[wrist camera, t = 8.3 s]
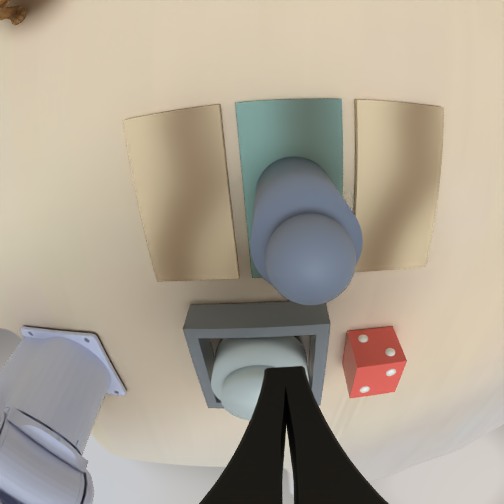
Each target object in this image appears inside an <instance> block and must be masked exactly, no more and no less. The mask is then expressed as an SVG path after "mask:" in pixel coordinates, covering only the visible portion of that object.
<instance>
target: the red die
mask: <svg viewBox="0 0 504 504" xmlns="http://www.w3.org/2000/svg"><path fill="white" fill-rule="evenodd" d="M406 362H407V360H406V358H405V355H404V353H403V350H402V348H401V345H400V343H399V340H398V338H397V336H396V333H395V331H394V329H393V326H391V327H382V328H373V329H364V330H354V331H347V338H346V344H345V350H344V356H343V362H342V364H343V369H344V373H345V378H346V383H347V388H348V392H349V397H350V398H356V397H363V396H370V395H377V394H383V393H389V392H395V390H396V387H397V385H398V382H399V380H400V377H401V375H402V372H403V370H404V367H405V364H406Z"/></svg>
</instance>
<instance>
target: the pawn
mask: <svg viewBox="0 0 504 504" xmlns="http://www.w3.org/2000/svg"><path fill="white" fill-rule="evenodd" d="M362 245H363V238H362V231H361V227H360V224H359V222H358V220H357V218H356V217H355V215H354V214H353V212H352V211H351V209H350V208H349V206H348V205H347V203H346V202H345V200H344V199H343V197H342V196H341V194H340V193H339V191H338V190H337V188H336V187H335V185H334V184H333V183H332V181H331V180H330V178H329V177H328V175H327V174H326V173H325V171H324V170H323V169H322V168H321V167H320V166H319V165H318V164H317V163H315V162H313V161H311V160H309V159H307V158H303V157H294V156H292V157H285V158H282V159H279V160H277V161H275V162H273V163H272V164H270V165H269V166H268V167H267V168H266V169H265V170H264V171H263V172H262V174H261V175H260V177H259V179H258V182H257V186H256V193H255V203H254V214H253V225H252V235H251V255H252V259H253V262H254V265H255V267H256V269H257V270H258V272H259V273H260V275H261V276H262V277H263V278H264V279H265V280H266V281H267V282H269V283H270V284H271V285H273V286H274V287H275V289H276V290H277V291H278V292H279V293H280V294H281V295H282V296H284V297H285V298H287V299H288V300H290V301H292V302H295V303H298V304H302V305H319V304H323V303H326V302H328V301H331V300H332V299H334V298H336V297H337V296H338V295H340V294H341V293H342V292H343V291H344V290H345V289H346V287H347V286H348V285H349V283H350V281H351V279H352V277H353V274H354V271H355V266H356V264H357V262H358V260H359V258H360V255H361V251H362Z"/></svg>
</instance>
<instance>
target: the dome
mask: <svg viewBox="0 0 504 504" xmlns="http://www.w3.org/2000/svg"><path fill="white" fill-rule="evenodd" d="M293 366H303V367H304V368H305V372H306V375H307V379H308V382H309V378H308V369H307V360H306V352H305V349H304V347H303V345H302V344H301V342H300V341H299V340H298V339H297V338H295V337H294V336H282V337H257V338H224V339H223V340H222V341H221V342H220V344H219V345H218V347H217V350H216V354H215V360H214V366H213V372H212V378H211V388H212V391H213V393H214V394H215V396H216V397H217V398H218V399H219V400H220V401H221V402H222V405H223V407H224V408H225V409H226V410H227V411H228V412H229V413H231V414H232V415H234V416H236V417H239V418H242V419H246V420H251V417H252V415H253V412H254V409H255V406H256V404H257V401H258V398H259V394H260V391H261V387H262V383H263V378H264V370H265V369H267V368H275V367H293Z"/></svg>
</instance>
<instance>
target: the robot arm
mask: <svg viewBox="0 0 504 504" xmlns="http://www.w3.org/2000/svg"><path fill="white" fill-rule="evenodd" d="M21 333H22V335H23V336H24V338H23V339H22V340H21V342H20V343H19V345H18V346H17V348H16V349H15V350H14V352H13V353H12V355H11V356H10V358H9V359H8V361H7V362H6V364H5V365H4V367H3V368H2V370H1V371H0V504H92V502H93V497H94V487H93V482H92V478H91V475H90V473H89V472H88V471H87V470H86V467H87V464H88V460H86V459H85V458H83V457H82V454H83V451H84V449H85V446H86V443H87V440H88V438H89V435H90V432H91V430H92V427H93V425H94V422H95V420H96V417H97V414H98V412H99V409H100V407H101V404H102V402H103V400H104V397H105V395H106V393H107V394H114V395H121V396H125V395H126V393H127V391H126V389H125V387H124V386H123V384H122V382H121V381H120V379H119V377H118V375H117V373H116V372H115V370H114V368H113V366H112V364H111V362H110V360H109V359H108V357H107V355H106V353H105V351H104V349H103V347H102V345H101V343H100V341H99V339H98V337H97V336H96V335H95V334H92V333H80V332H69V331H59V330H49V329H40V328H32V327H22V328H21ZM286 425H287V432H288V439H289V447H290V454H291V462H292V469H293V479H294V504H388V503H387V502H386V501H385V500H384V499H383V498H382V497H381V496H380V495H379V494H378V493H377V492H376V490H375V489H374V488H373V487H372V486H371V485H370V484H369V483H368V481H367V480H366V479H365V478H364V477H363V475H362V474H361V473H360V472H359V471H358V469H357V468H356V467H355V466H354V464H353V463H352V462H351V460H350V459H349V457H348V456H347V455H346V453H345V452H344V450H343V449H342V447H341V446H340V444H339V443H338V441H337V439H336V438H335V436H334V434H333V433H332V431H331V429H330V427H329V426H328V424H327V422H326V420H325V418H324V416H323V414H322V412H321V410H320V408H319V406H318V404H317V402H316V400H315V397H314V395H313V392H312V390H311V387H310V385H309V382H308V379H307V375H306V372H305V368H304V367H303V366H293V367H275V368H267V369H265V370H264V378H263V383H262V387H261V391H260V394H259V398H258V401H257V404H256V406H255V409H254V412H253V415H252V417H251V420H250V422H249V425H248V427H247V429H246V431H245V433H244V435H243V438H242V440H241V442H240V444H239V446H238V448H237V449H236V451H235V453H234V455H233V457H232V458H231V460H230V462H229V463H228V465H227V467H226V468H225V470H224V471H223V473H222V475H221V476H220V477H219V479H218V480H217V482H216V483H215V484H214V486H213V487H212V488H211V490H210V491H209V492H208V493H207V495H206V496H205V497H204V498H203V500H202V501H201V502H200V503H199V504H282V473H283V461H284V449H285V435H286Z"/></svg>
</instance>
